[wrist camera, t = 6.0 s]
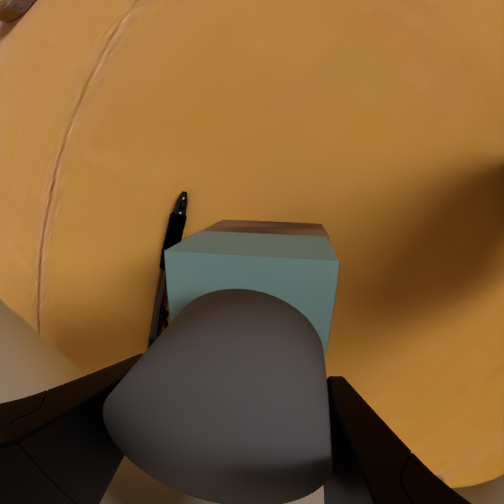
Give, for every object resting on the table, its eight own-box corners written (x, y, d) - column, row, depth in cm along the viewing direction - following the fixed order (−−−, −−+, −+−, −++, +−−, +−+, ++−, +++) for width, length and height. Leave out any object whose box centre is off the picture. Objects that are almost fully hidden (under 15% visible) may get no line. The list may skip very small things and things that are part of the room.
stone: (333, 293, 7) (362, 397, 3) (312, 417, 8) (310, 511, 5) (160, 281, 8) (73, 352, 4) (179, 401, 9) (137, 480, 5)
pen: (165, 358, 21) (163, 367, 20) (146, 354, 21) (144, 362, 20) (202, 195, 17) (201, 197, 16) (177, 188, 17) (174, 191, 16)
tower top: (326, 237, 12) (339, 261, 9) (313, 347, 14) (316, 397, 10) (200, 231, 13) (164, 250, 9) (205, 337, 15) (179, 381, 11)
